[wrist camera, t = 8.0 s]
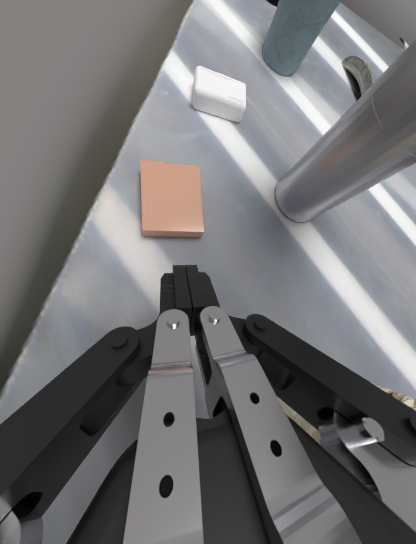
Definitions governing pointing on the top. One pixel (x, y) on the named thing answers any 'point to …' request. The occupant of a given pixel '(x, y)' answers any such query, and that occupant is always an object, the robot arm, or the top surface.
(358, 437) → the robot arm
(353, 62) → the ceramic fragment
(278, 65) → the green ceramic cup
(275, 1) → the webcam
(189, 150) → the top surface
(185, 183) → the terracotta tile
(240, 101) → the soap
